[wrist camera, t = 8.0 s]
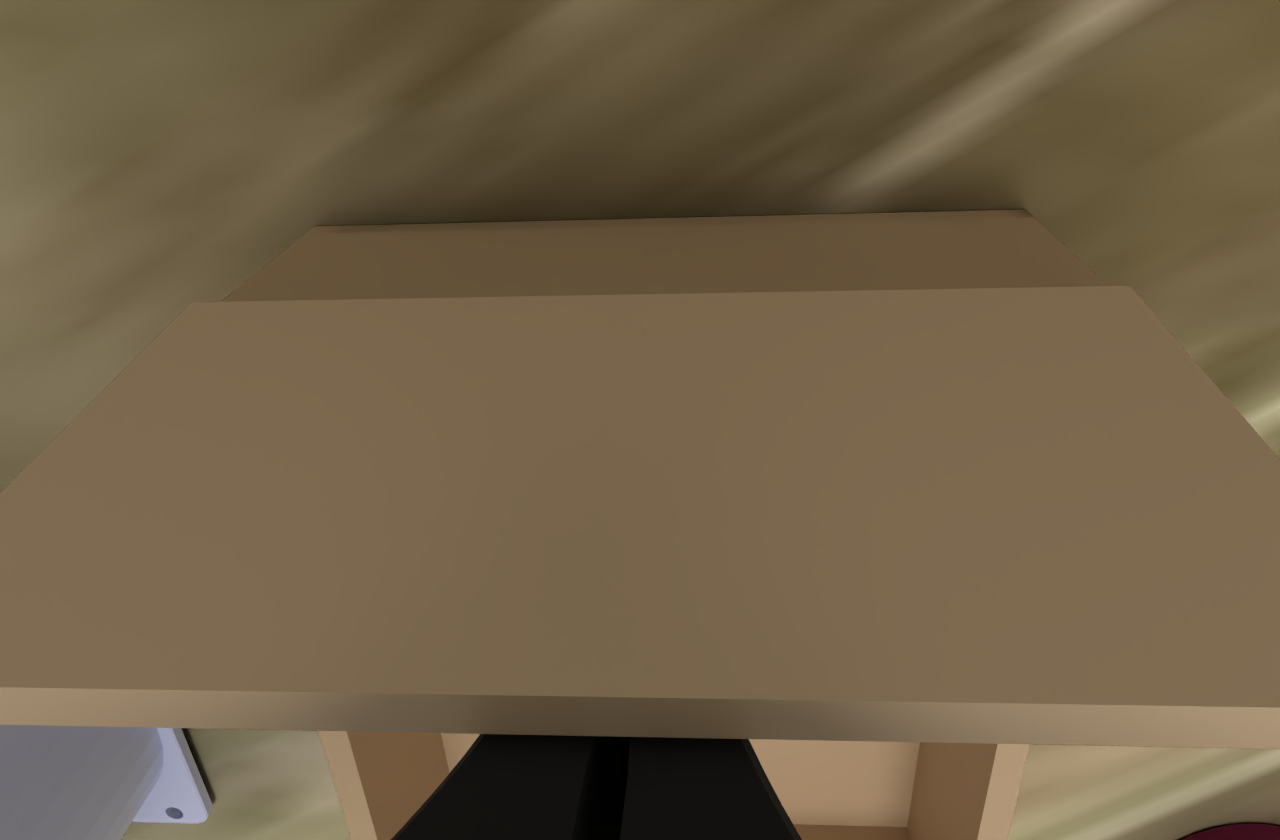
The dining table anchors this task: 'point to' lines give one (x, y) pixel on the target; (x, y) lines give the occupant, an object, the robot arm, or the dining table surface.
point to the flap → (656, 524)
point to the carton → (682, 264)
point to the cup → (1239, 833)
